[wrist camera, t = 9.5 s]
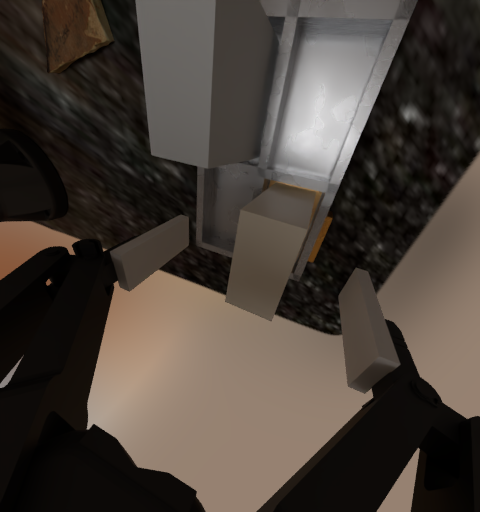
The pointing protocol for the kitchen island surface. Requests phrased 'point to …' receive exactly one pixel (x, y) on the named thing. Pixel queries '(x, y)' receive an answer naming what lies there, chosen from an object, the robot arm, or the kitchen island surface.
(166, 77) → the grey rectangular block
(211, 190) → the grey divided tray
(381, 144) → the kitchen island surface
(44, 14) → the shard
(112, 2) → the kitchen island surface
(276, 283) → the grey beige block
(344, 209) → the kitchen island surface
